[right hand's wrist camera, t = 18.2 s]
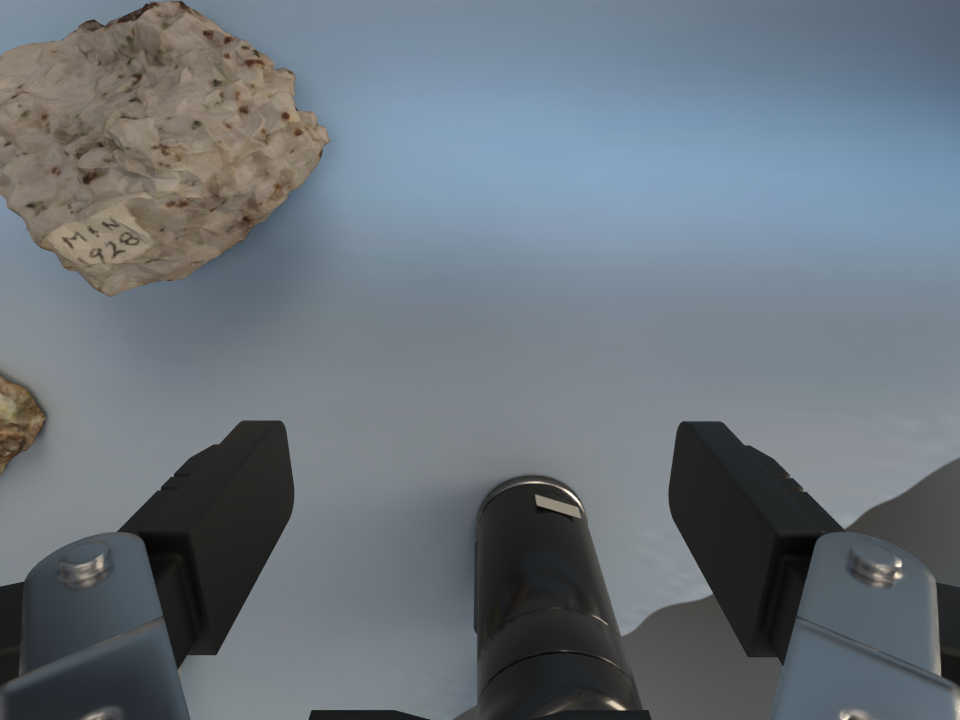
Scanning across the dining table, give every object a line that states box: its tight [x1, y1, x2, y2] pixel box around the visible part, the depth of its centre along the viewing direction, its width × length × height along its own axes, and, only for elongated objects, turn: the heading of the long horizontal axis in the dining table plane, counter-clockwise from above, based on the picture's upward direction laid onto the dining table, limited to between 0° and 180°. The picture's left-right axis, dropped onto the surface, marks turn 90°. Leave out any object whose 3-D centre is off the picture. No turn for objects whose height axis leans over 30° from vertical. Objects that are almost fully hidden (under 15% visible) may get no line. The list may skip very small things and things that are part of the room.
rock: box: [0, 1, 330, 297], centre depth 31 cm, size 15×17×15 cm
